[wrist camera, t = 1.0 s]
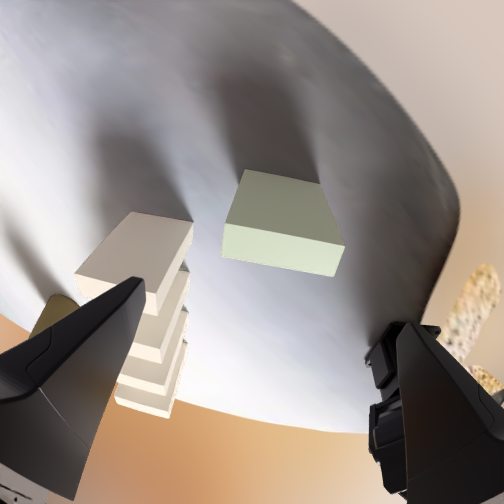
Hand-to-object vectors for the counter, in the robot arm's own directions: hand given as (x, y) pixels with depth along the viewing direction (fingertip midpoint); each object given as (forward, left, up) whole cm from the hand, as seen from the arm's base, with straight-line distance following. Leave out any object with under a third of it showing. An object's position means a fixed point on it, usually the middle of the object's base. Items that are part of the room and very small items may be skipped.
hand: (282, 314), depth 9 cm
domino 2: (+8, +9, -12) cm, 17 cm away
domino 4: (+8, +18, -12) cm, 23 cm away
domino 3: (+8, +13, -12) cm, 20 cm away
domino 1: (+8, +4, -12) cm, 15 cm away
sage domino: (0, 0, -12) cm, 12 cm away
